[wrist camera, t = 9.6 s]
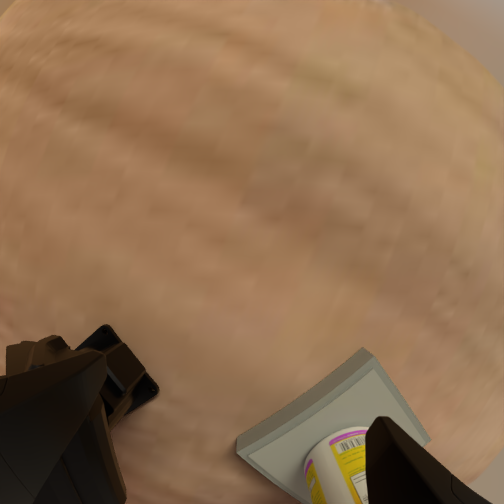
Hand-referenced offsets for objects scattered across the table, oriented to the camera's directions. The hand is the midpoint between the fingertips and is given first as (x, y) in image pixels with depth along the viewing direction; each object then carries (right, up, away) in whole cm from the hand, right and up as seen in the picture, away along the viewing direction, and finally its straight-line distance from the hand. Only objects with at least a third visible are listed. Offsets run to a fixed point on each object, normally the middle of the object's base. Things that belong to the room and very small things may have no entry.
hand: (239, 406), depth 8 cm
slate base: (+8, -11, +12) cm, 18 cm away
